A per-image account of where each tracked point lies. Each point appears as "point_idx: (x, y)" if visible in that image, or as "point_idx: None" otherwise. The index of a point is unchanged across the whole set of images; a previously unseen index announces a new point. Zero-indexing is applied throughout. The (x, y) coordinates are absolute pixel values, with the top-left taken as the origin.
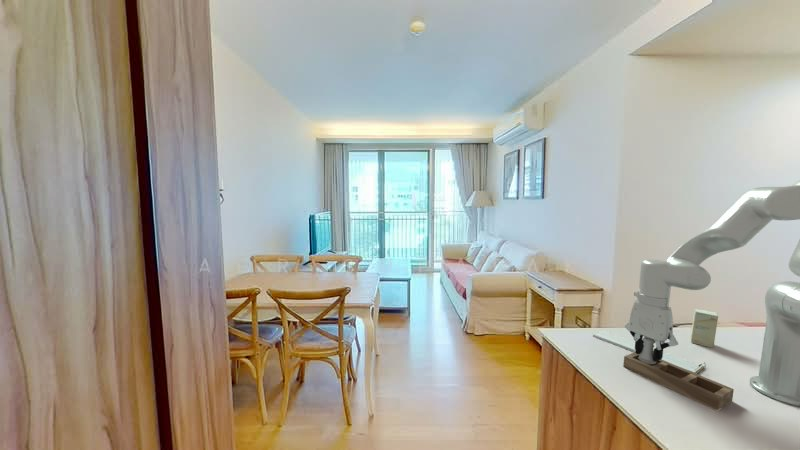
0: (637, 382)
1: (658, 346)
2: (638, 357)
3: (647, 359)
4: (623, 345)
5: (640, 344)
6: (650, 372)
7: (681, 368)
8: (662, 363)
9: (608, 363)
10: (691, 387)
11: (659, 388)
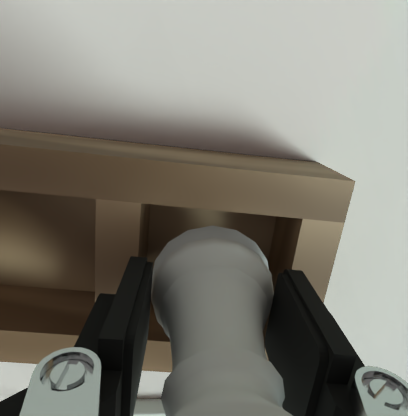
0: (171, 6)
1: (58, 391)
2: None
3: (191, 245)
4: None
5: (303, 364)
6: (138, 152)
7: (15, 350)
8: None
9: (403, 113)
10: None
11: (54, 65)
